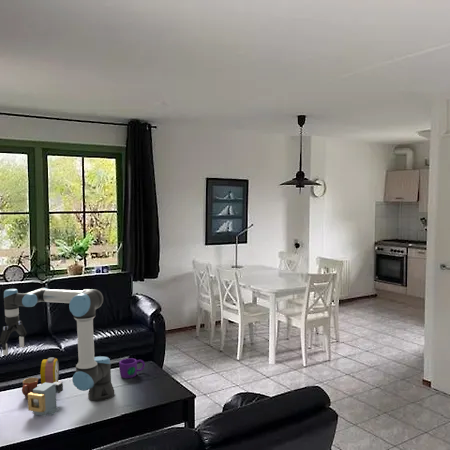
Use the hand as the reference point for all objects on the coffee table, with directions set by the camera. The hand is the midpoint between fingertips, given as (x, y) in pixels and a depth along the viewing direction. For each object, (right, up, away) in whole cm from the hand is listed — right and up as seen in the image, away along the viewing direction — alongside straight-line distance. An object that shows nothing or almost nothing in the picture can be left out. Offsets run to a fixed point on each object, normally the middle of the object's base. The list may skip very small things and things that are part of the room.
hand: (13, 351), depth 281 cm
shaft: (+26, -22, -16) cm, 37 cm away
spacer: (+23, -26, -24) cm, 42 cm away
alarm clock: (+16, -27, +15) cm, 35 cm away
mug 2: (+64, -25, +33) cm, 76 cm away
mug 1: (+9, -28, 0) cm, 30 cm away
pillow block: (+25, -29, -17) cm, 42 cm away
